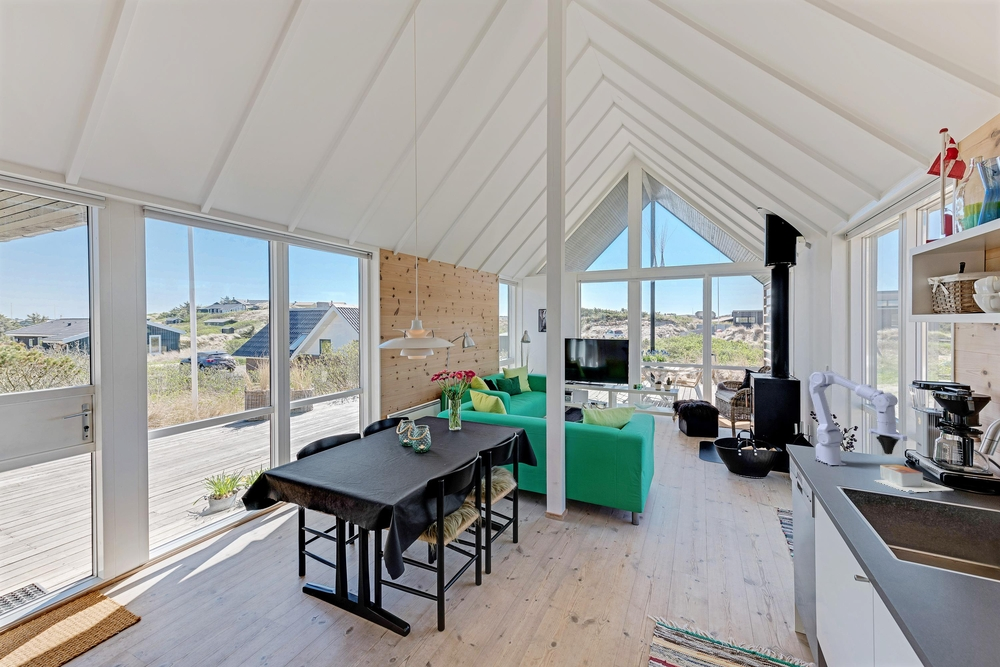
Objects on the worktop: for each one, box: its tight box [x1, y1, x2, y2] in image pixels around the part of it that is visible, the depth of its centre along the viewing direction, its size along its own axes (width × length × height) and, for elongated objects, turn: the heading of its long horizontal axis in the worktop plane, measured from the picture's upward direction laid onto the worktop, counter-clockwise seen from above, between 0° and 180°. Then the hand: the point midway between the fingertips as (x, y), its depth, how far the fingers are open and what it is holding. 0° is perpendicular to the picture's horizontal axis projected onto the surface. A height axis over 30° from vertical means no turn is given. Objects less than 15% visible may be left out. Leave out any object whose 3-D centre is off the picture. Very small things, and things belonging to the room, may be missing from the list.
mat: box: [873, 479, 954, 493], centre depth 162 cm, size 14×18×1 cm
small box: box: [879, 464, 924, 487], centre depth 166 cm, size 8×6×10 cm
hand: (888, 453), depth 171 cm, fingers closed
